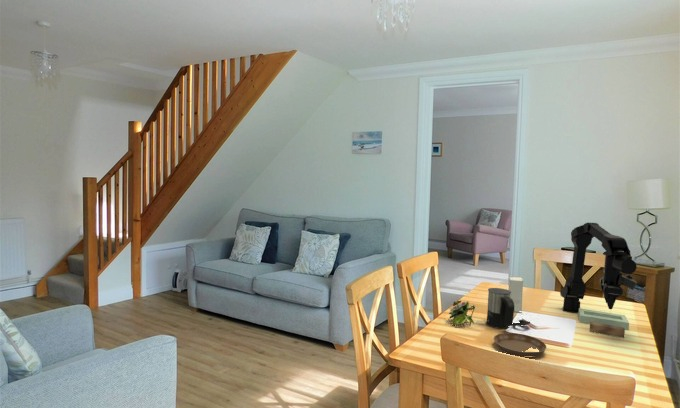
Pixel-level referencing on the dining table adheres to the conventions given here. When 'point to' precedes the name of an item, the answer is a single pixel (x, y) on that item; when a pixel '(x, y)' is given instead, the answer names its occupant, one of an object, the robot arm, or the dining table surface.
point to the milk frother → (501, 309)
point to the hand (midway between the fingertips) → (608, 306)
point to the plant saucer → (519, 344)
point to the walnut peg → (607, 329)
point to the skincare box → (516, 292)
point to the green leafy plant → (461, 313)
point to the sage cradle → (603, 318)
